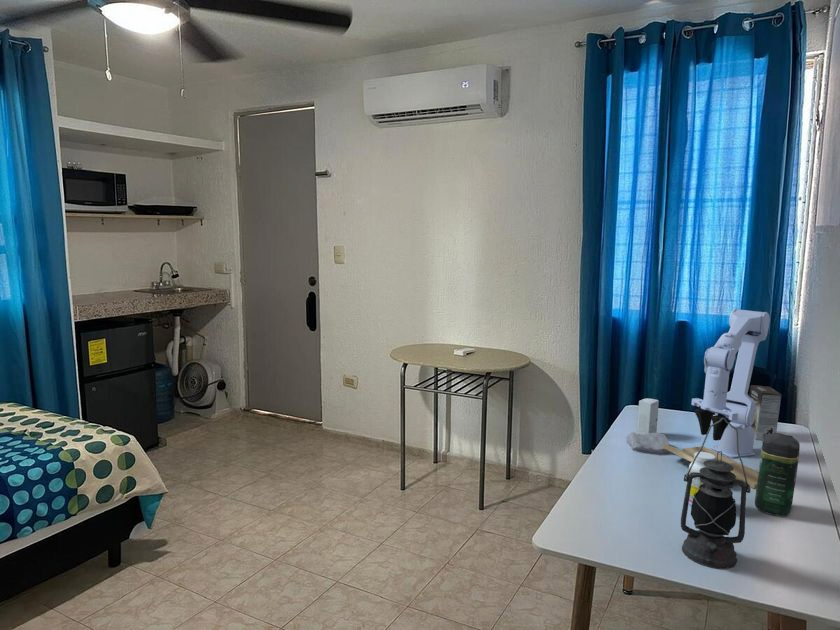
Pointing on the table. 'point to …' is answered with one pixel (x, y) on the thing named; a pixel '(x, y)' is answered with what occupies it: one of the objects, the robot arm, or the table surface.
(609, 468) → the table surface
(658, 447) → the stone block
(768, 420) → the coffee box
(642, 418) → the skincare box
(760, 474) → the coffee jar
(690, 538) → the lantern
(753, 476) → the laid floor row
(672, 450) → the board
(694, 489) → the supplement bottle
